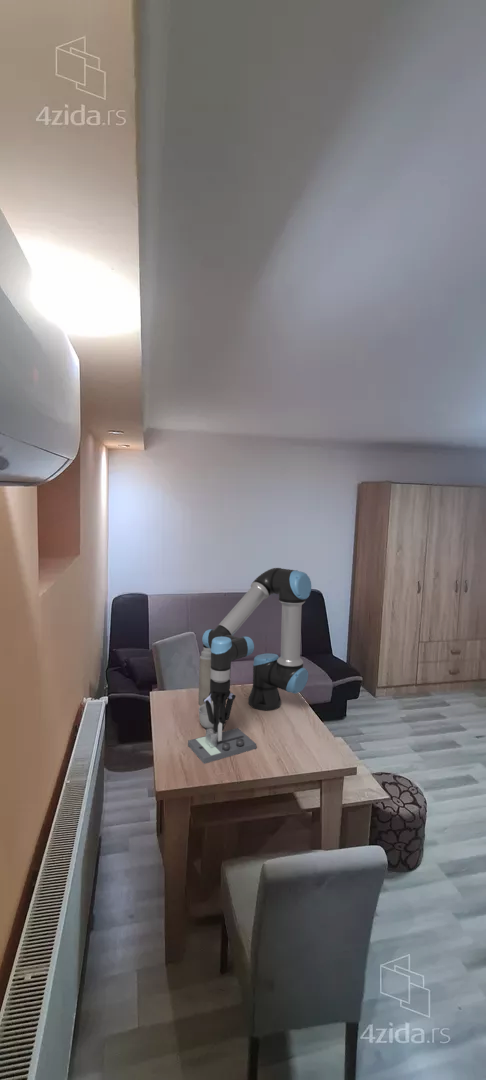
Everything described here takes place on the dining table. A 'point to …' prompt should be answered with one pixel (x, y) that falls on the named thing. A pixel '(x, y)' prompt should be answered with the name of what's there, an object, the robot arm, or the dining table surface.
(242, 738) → the console
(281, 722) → the dining table surface
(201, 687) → the thermos bottle
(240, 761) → the dining table surface
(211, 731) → the fader cap
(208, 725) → the teacup
